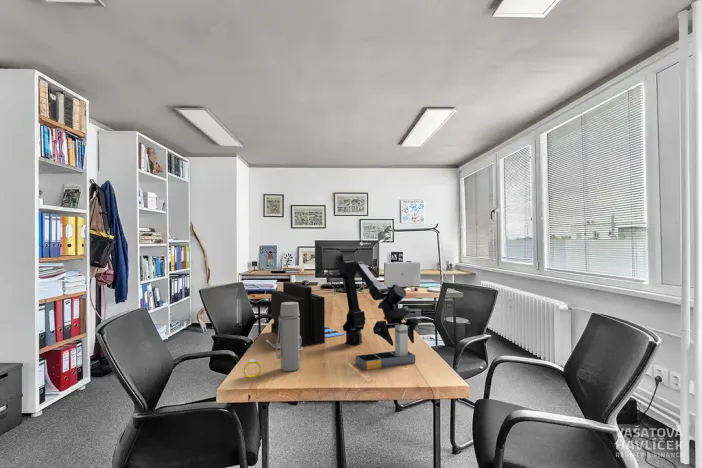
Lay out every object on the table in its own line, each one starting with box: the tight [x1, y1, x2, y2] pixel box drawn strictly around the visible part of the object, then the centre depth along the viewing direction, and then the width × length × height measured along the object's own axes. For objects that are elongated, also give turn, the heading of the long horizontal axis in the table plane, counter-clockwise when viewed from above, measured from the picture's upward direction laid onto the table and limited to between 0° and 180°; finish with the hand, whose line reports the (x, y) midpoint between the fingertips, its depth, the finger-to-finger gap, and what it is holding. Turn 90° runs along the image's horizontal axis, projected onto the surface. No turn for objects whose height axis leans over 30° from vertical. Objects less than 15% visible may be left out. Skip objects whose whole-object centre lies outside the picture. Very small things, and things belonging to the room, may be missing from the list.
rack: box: [355, 350, 416, 371], centre depth 151 cm, size 22×9×4 cm, turn 111°
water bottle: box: [275, 302, 301, 372], centre depth 147 cm, size 9×8×25 cm
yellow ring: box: [243, 359, 262, 379], centre depth 139 cm, size 6×3×6 cm, turn 106°
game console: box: [270, 281, 345, 348], centre depth 200 cm, size 35×30×27 cm
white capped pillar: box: [394, 324, 409, 357], centre depth 154 cm, size 4×4×14 cm
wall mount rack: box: [265, 336, 304, 351], centre depth 173 cm, size 16×14×6 cm
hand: (403, 344), depth 153 cm, fingers open, 9 cm apart
